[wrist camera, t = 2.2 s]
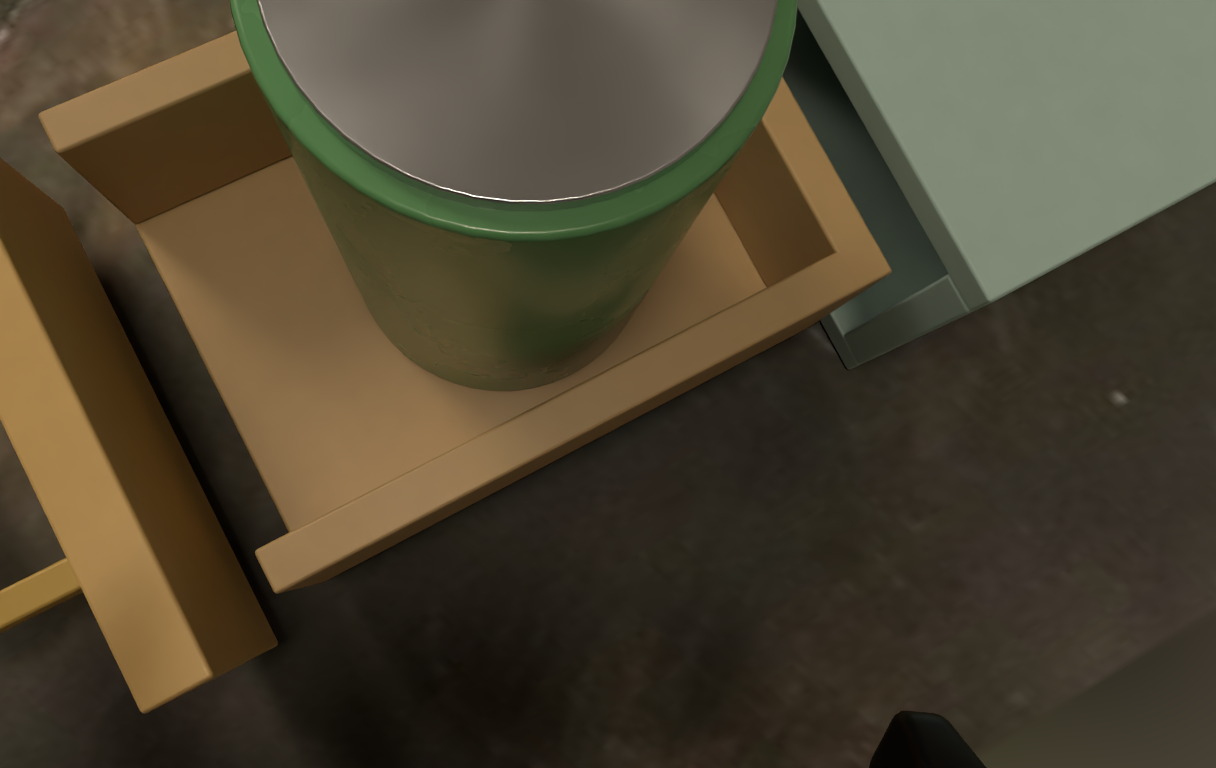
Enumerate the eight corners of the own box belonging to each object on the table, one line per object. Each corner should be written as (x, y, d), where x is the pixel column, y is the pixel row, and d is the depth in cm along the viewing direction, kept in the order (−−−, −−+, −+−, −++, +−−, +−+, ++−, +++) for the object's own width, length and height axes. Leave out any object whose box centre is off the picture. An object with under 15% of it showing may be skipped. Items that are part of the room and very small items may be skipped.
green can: (697, 310, 22) (909, 82, 11) (437, 443, 21) (387, 336, 10) (563, 64, 23) (639, -386, 12) (302, 182, 22) (114, -192, 11)
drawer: (24, 780, 20) (-134, 861, 15) (-192, 317, 21) (-412, 244, 16) (822, 355, 24) (918, 302, 18) (608, -31, 24) (641, -187, 19)
